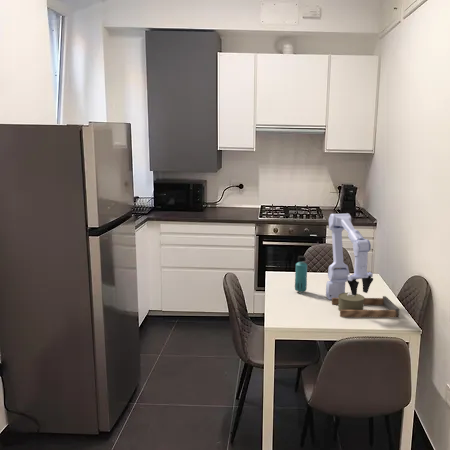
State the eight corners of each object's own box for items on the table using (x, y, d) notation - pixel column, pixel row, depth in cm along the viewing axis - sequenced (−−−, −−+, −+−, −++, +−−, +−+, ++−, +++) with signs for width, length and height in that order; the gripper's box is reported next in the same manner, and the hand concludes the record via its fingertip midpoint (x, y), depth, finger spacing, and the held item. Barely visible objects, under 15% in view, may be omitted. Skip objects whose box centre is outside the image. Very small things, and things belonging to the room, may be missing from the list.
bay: (340, 316, 209) (341, 308, 209) (331, 303, 227) (332, 295, 226) (398, 317, 209) (399, 309, 209) (385, 303, 227) (385, 296, 226)
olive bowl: (339, 314, 213) (339, 300, 212) (336, 305, 225) (337, 292, 224) (365, 315, 212) (366, 301, 210) (361, 306, 223) (362, 293, 222)
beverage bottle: (305, 290, 247) (306, 254, 244) (307, 294, 241) (309, 257, 237) (293, 290, 247) (294, 254, 244) (295, 294, 241) (296, 257, 237)
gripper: (356, 268, 203) (355, 298, 205) (378, 265, 211) (377, 293, 213) (344, 265, 209) (343, 294, 211) (366, 262, 217) (365, 289, 219)
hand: (359, 293), depth 212 cm, fingers open, 7 cm apart
